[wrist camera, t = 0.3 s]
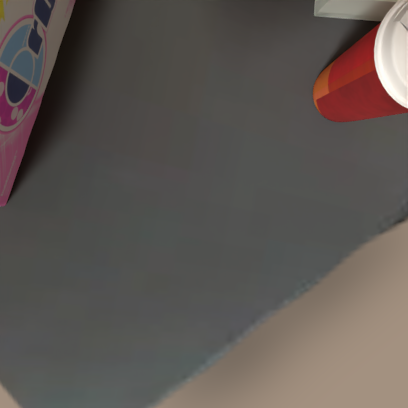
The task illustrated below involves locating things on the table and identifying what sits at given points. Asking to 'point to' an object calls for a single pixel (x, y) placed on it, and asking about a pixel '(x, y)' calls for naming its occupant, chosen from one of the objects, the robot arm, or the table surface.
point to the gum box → (25, 73)
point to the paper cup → (368, 73)
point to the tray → (354, 9)
